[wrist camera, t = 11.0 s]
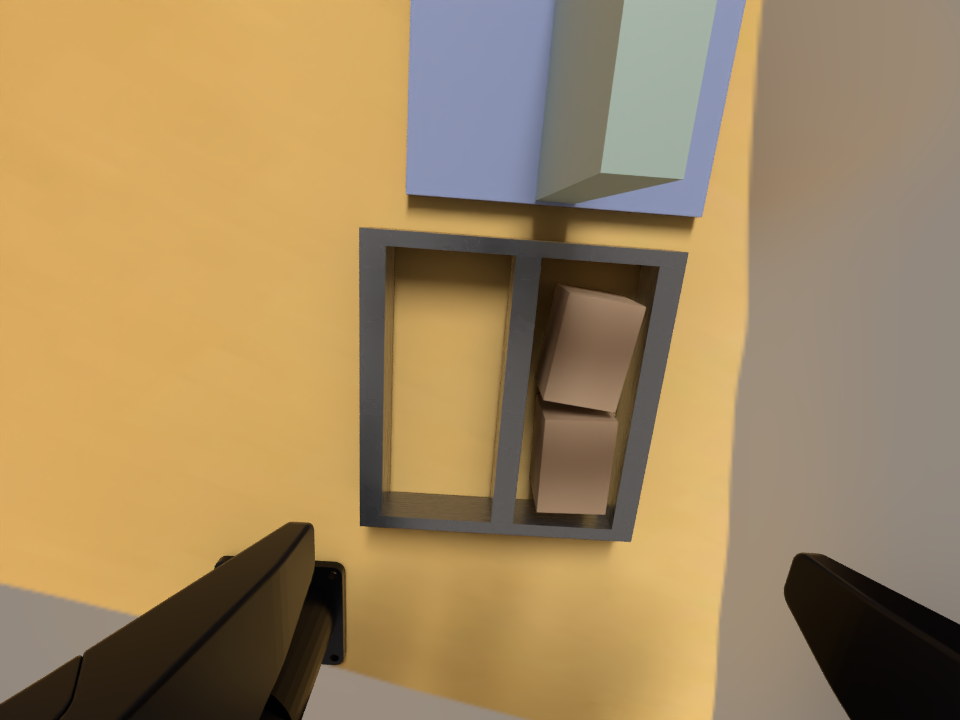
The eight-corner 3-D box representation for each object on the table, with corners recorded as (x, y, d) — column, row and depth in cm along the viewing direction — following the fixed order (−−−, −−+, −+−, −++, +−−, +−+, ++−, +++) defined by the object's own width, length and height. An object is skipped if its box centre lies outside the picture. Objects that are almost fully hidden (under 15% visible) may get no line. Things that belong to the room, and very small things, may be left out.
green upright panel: (574, 204, 18) (683, 179, 9) (535, 200, 18) (600, 172, 9) (609, -71, 16) (818, -539, 6) (563, -75, 16) (700, -553, 6)
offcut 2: (589, 477, 23) (605, 514, 20) (529, 475, 23) (536, 512, 20) (599, 395, 21) (618, 422, 19) (536, 393, 21) (545, 419, 18)
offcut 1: (596, 387, 21) (615, 412, 18) (534, 376, 21) (543, 399, 18) (622, 295, 20) (646, 307, 17) (556, 282, 20) (569, 292, 17)
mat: (695, 217, 19) (701, 216, 18) (408, 194, 19) (406, 193, 18) (746, -43, 16) (756, -53, 16) (415, -74, 16) (412, -85, 16)
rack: (618, 515, 23) (630, 541, 21) (369, 500, 23) (359, 526, 21) (667, 249, 19) (688, 252, 17) (371, 227, 19) (359, 227, 17)
